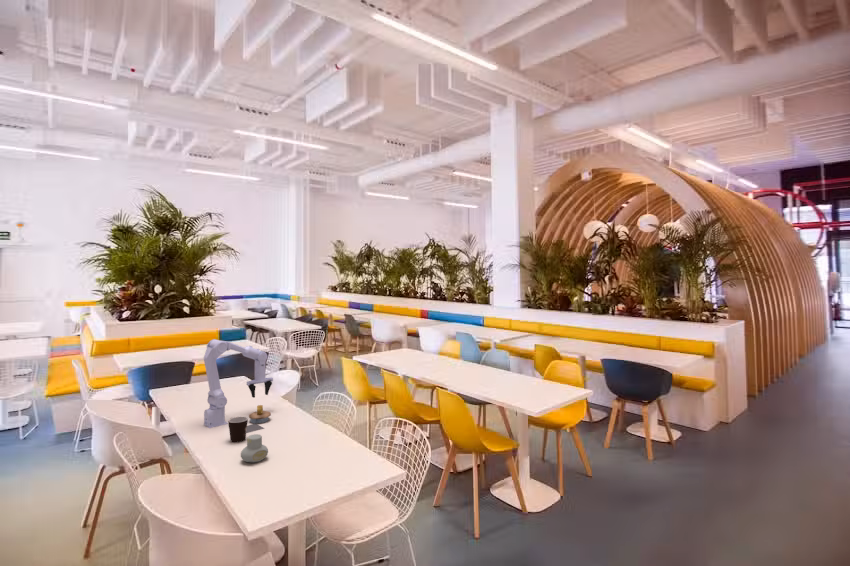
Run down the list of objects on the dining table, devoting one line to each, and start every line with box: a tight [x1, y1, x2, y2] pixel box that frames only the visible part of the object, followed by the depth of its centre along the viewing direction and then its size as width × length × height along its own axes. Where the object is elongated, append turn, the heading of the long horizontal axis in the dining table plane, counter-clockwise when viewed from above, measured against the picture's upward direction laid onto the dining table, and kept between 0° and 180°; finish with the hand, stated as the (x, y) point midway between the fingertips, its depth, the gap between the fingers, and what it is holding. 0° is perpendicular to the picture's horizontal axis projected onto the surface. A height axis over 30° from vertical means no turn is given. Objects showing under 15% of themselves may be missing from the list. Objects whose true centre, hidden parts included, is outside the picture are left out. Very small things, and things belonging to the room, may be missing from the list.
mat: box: [246, 423, 265, 434], centre depth 224 cm, size 10×10×1 cm
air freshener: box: [240, 433, 269, 464], centre depth 187 cm, size 11×8×10 cm
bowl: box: [249, 416, 270, 424], centre depth 236 cm, size 9×9×3 cm
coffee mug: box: [227, 416, 249, 443], centre depth 210 cm, size 12×9×10 cm
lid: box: [248, 404, 272, 419], centre depth 235 cm, size 11×11×5 cm
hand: (260, 395), depth 249 cm, fingers open, 7 cm apart
